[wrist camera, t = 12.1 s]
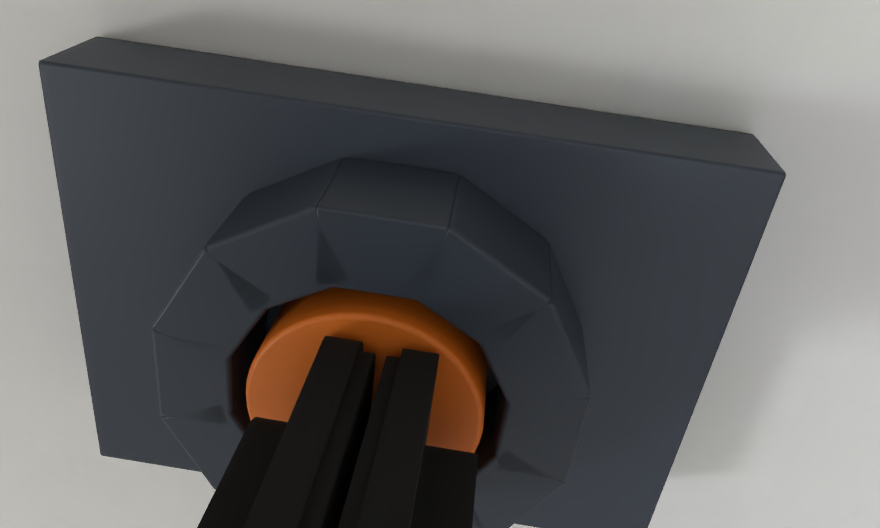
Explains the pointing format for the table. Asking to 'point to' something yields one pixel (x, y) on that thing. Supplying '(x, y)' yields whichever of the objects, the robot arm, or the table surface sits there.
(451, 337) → the button
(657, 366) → the control block
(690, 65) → the table surface
